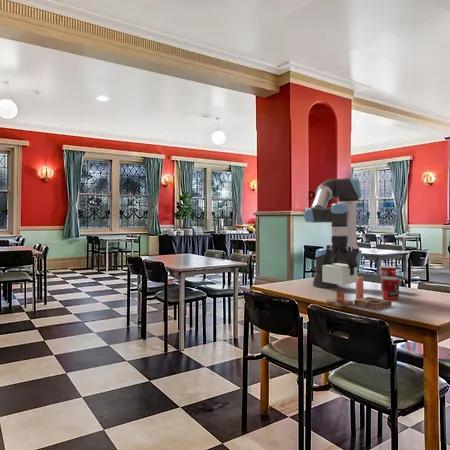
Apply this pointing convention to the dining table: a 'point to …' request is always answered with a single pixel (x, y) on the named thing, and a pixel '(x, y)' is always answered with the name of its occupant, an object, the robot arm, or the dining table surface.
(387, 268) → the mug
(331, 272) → the block
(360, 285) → the peg
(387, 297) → the canned food
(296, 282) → the dining table surface
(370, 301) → the wooden square frame
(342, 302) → the board
